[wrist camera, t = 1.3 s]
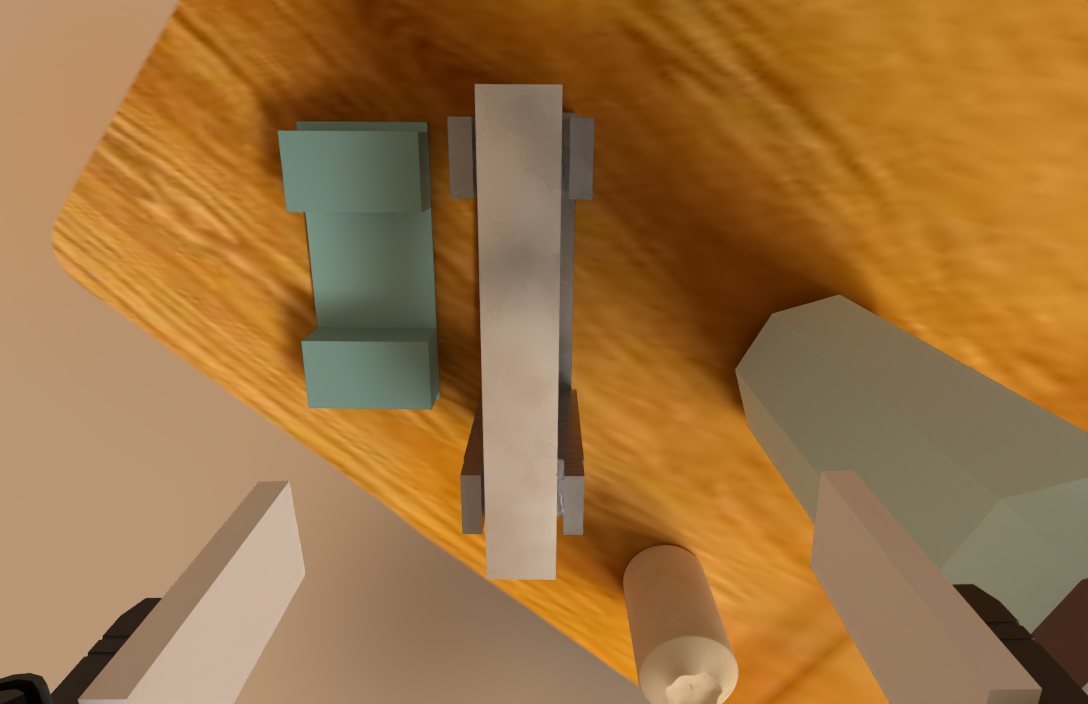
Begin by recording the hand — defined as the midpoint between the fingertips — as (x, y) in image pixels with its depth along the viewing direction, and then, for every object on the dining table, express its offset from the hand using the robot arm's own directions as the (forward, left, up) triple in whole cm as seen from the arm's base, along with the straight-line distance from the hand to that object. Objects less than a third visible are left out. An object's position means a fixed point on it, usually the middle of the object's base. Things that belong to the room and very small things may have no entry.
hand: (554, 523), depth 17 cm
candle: (+19, +8, -24) cm, 31 cm away
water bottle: (+4, +16, -24) cm, 29 cm away
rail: (-1, -1, -14) cm, 14 cm away
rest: (-2, -10, -24) cm, 26 cm away
